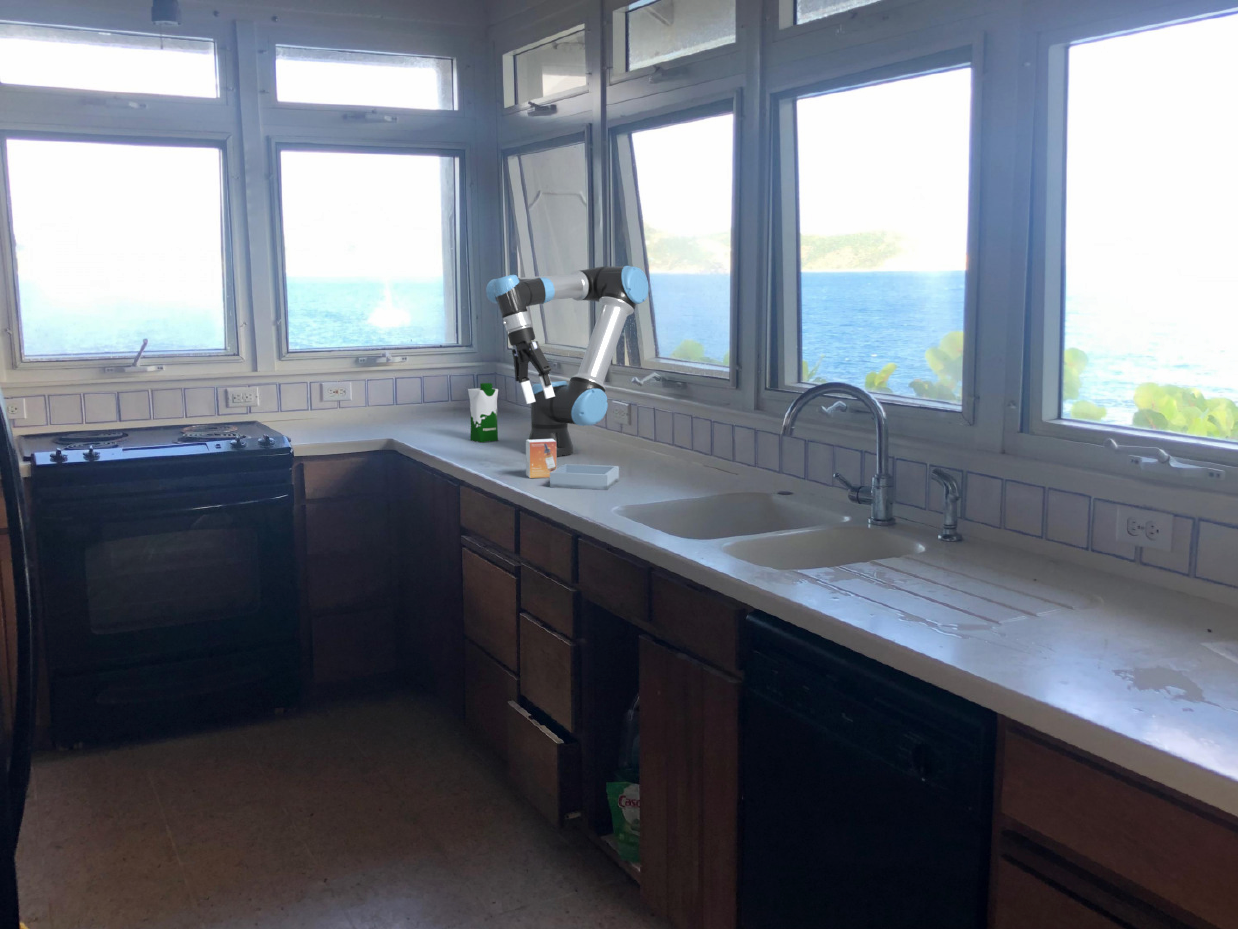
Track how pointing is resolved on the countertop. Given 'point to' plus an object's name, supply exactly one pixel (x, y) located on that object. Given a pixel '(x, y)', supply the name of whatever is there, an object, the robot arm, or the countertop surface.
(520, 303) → the robot arm
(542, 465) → the small box
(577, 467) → the tray
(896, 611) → the countertop surface
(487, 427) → the milk carton
